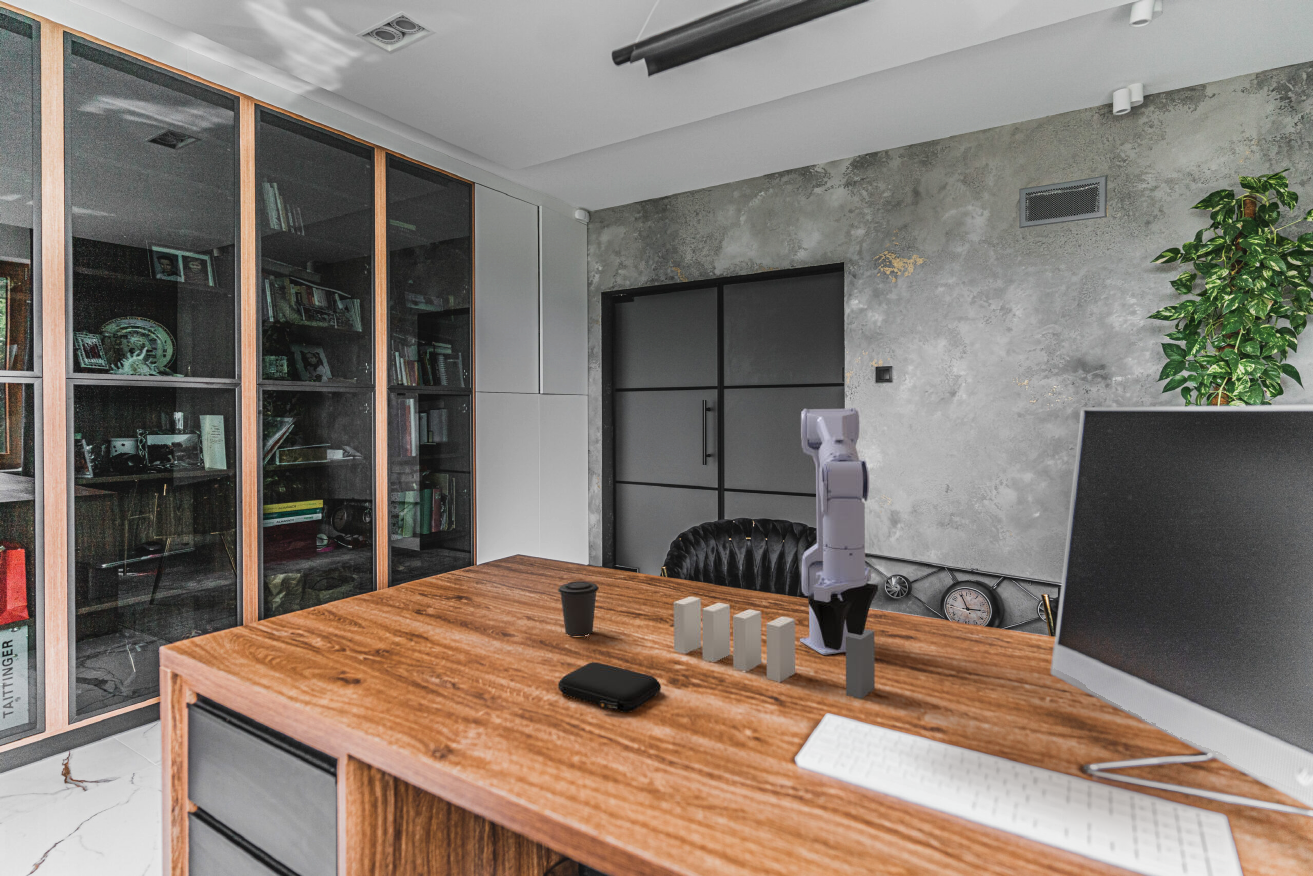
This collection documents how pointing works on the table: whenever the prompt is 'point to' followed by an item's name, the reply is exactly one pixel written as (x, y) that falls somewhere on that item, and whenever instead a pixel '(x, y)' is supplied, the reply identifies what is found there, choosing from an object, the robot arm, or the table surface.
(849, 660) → the domino
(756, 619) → the domino
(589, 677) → the carrying case or bag
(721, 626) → the domino
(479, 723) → the table surface
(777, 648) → the domino
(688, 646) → the domino
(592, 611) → the coffee cup
